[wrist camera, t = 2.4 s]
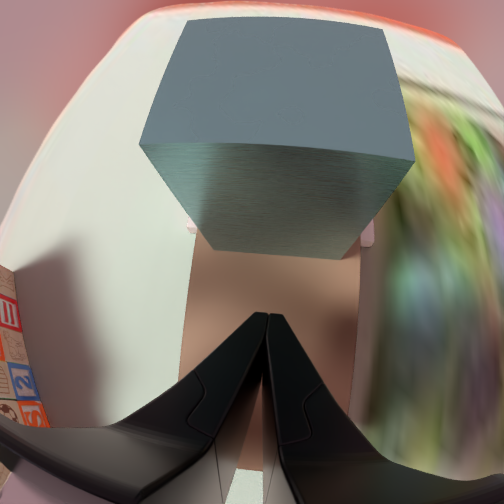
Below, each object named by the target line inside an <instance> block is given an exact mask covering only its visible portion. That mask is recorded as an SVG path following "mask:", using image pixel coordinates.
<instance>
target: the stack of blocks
mask: <svg viewBox="0 0 504 504" xmlns="http://www.w3.org/2000/svg"><path fill="white" fill-rule="evenodd" d="M0 413H1V414H3V415H4V416H6V417H8V418H9V419H11V420H13V421H15V422H17V423H20V424H23V425H28V426H33V427H48V428H51V427H50V425H49V422H48V419H47V416H46V413H45V411H44V408H43V405H42V402H41V401H40V398H39V394H38V391H37V388H36V385H35V382H34V378H33V375H32V371H31V368H30V365H29V360H28V357H27V353H26V348H25V344H24V340H23V335H22V327H21V322H20V317H19V311H18V305H17V297H16V290H15V282H14V273H13V272H12V271H10V270H9V269H7V268H5V267H3V266H1V265H0ZM9 473H10V471H9V470H8V469H7V468H6V467H5V466H4V465H3V464H2V463H1V462H0V489H1V487H2V485H3V484H4V482H5V480H6V479H7V477H8V475H9Z"/></svg>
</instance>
